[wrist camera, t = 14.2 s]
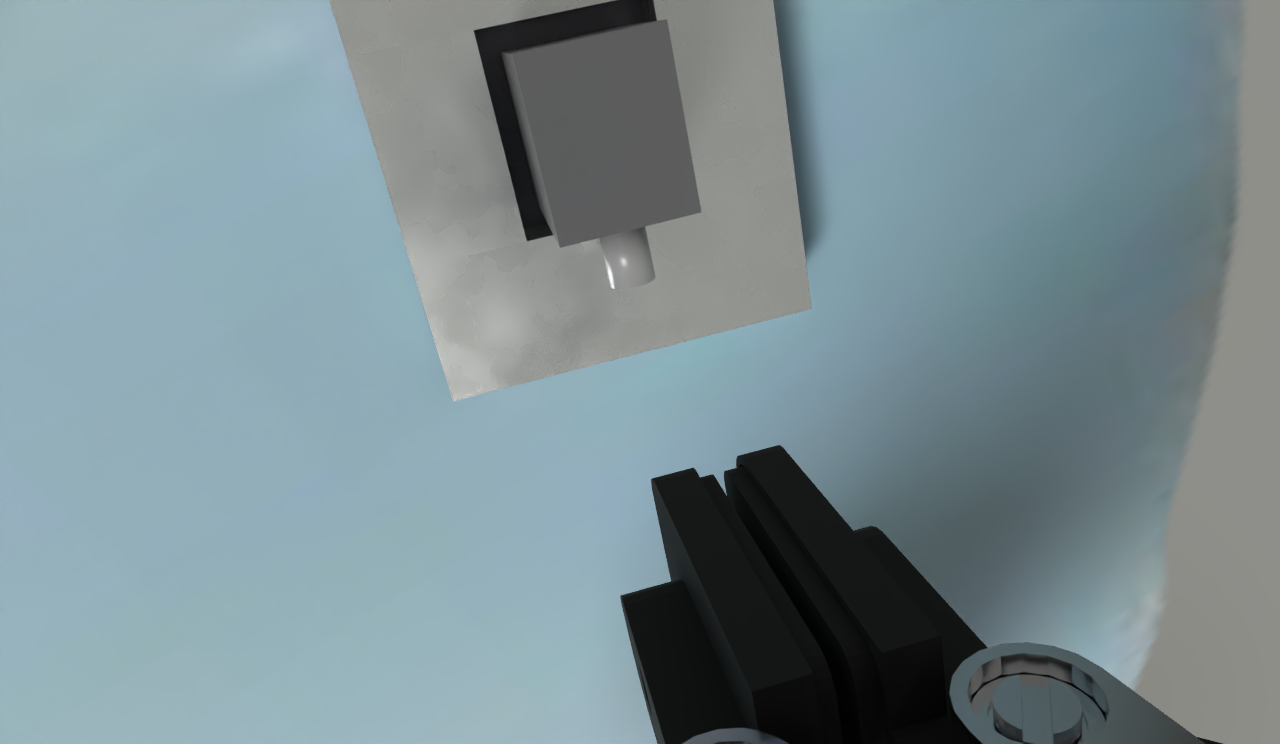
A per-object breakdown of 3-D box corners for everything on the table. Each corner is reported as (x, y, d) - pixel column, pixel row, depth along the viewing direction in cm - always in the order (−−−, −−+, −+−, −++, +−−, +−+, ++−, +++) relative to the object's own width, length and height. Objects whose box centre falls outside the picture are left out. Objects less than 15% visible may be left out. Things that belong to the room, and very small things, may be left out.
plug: (660, 232, 31) (713, 281, 24) (551, 259, 30) (577, 316, 24) (619, 25, 28) (666, 19, 22) (499, 52, 28) (512, 54, 21)
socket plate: (787, 290, 33) (818, 313, 30) (453, 375, 32) (452, 407, 29) (722, -190, 27) (753, -218, 24) (305, -111, 26) (286, -131, 23)
